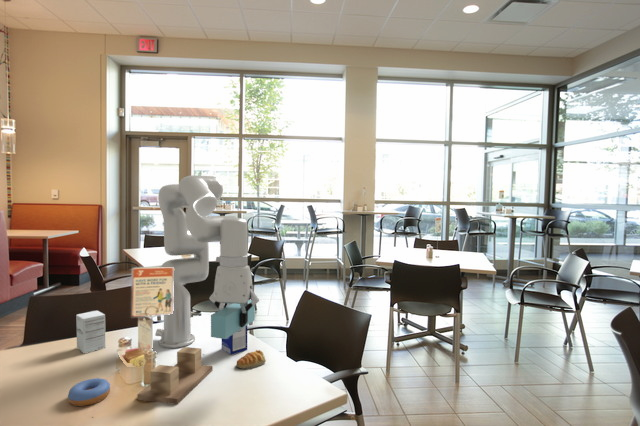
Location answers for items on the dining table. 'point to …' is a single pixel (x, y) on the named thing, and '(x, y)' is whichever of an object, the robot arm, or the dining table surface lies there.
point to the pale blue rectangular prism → (229, 320)
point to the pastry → (251, 360)
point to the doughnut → (89, 392)
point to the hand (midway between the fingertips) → (234, 324)
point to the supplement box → (90, 331)
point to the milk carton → (235, 341)
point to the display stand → (176, 378)
